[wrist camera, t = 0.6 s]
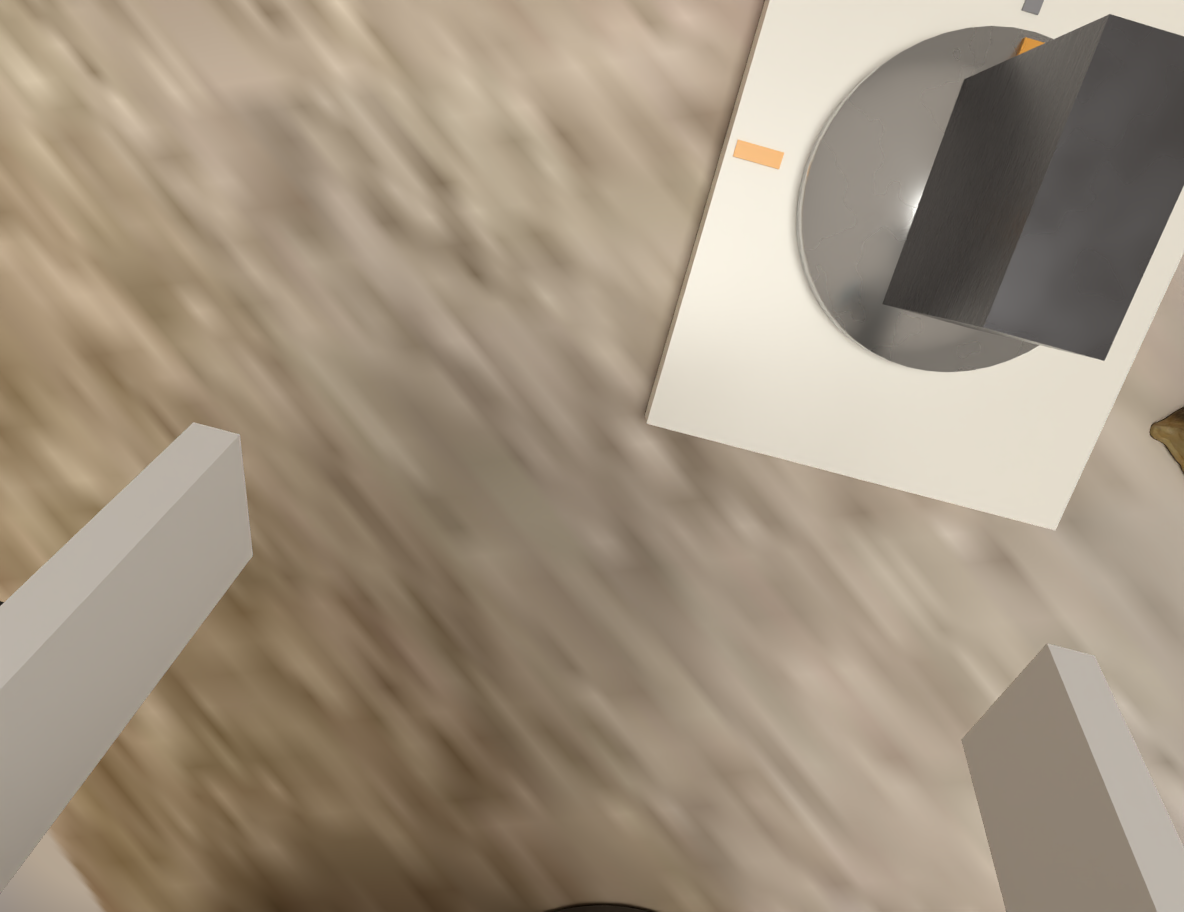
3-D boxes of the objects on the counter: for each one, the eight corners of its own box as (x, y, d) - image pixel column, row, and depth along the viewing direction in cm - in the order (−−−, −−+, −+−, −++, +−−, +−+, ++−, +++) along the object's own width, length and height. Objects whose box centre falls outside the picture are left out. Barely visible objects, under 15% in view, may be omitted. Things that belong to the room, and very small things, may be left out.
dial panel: (1035, 518, 34) (1056, 531, 32) (644, 415, 33) (646, 424, 31) (1283, -28, 28) (1322, -44, 26) (815, -173, 27) (828, -198, 25)
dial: (1038, 401, 31) (1209, 464, 22) (754, 324, 30) (814, 358, 21) (1176, 85, 27) (1438, 14, 19) (860, -9, 27) (983, -127, 18)
